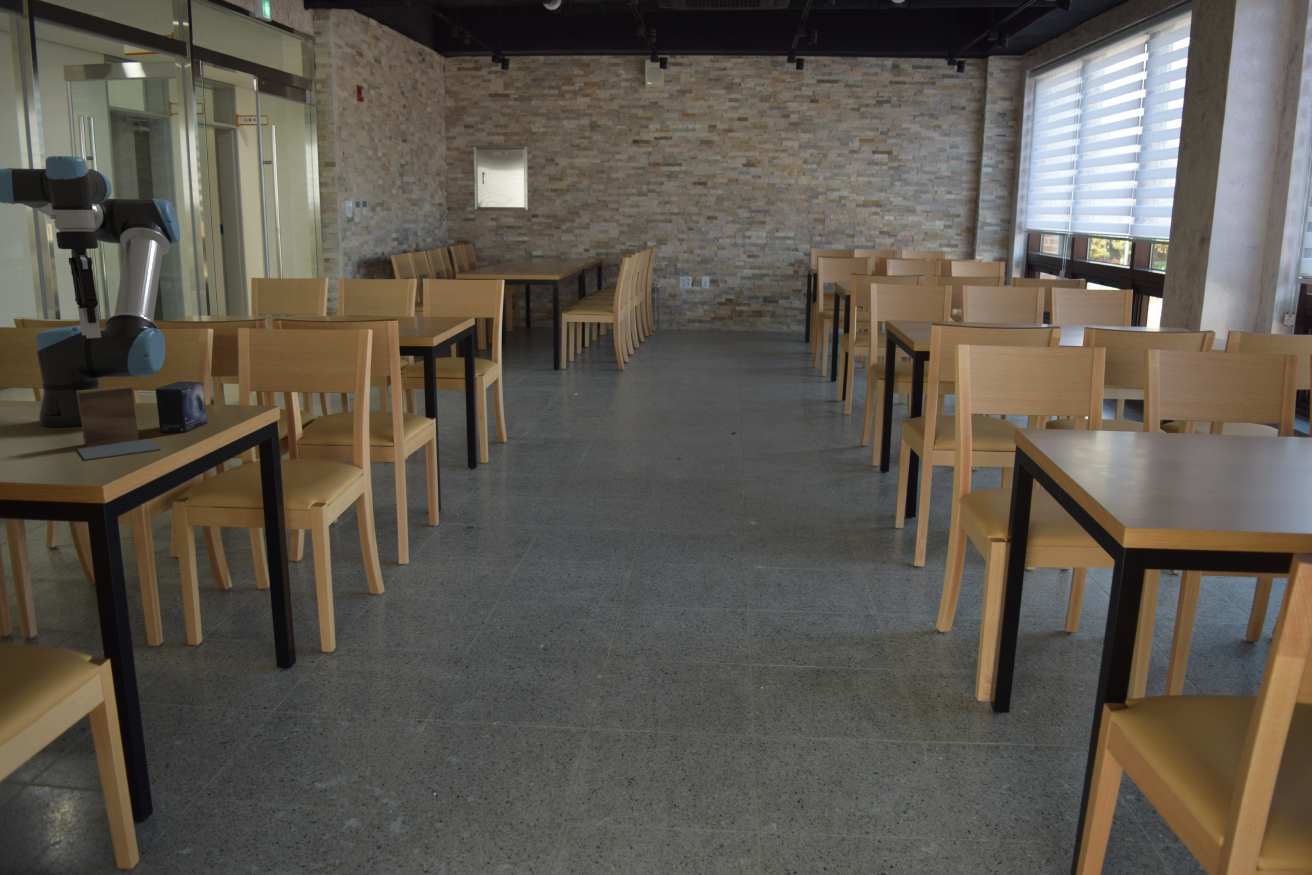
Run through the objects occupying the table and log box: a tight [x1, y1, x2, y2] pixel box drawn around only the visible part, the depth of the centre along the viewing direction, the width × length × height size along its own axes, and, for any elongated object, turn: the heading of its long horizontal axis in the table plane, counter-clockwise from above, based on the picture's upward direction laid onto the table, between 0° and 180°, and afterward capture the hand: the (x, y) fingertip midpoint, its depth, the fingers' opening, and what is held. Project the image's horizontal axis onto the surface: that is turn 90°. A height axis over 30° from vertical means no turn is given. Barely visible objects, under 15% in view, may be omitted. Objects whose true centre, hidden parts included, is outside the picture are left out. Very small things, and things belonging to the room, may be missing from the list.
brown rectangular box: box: [76, 385, 140, 447], centre depth 200 cm, size 4×10×12 cm, turn 128°
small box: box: [154, 380, 208, 433], centre depth 215 cm, size 11×6×10 cm, turn 179°
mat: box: [76, 438, 161, 462], centre depth 195 cm, size 12×14×1 cm
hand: (91, 336), depth 202 cm, fingers open, 6 cm apart
